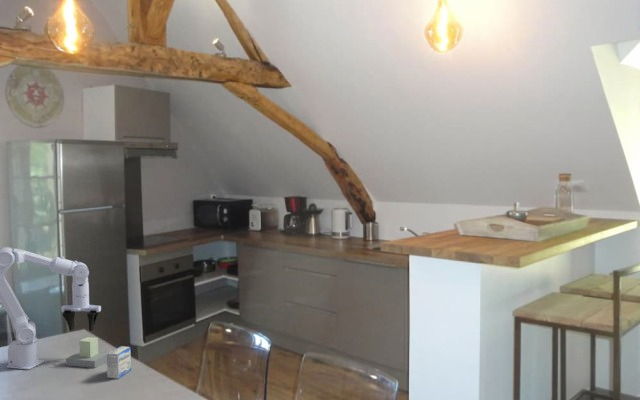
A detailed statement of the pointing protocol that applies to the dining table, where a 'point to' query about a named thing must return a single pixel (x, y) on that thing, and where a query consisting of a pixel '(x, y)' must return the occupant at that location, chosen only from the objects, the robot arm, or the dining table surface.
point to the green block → (88, 347)
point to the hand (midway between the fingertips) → (81, 329)
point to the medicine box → (118, 362)
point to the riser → (87, 360)
